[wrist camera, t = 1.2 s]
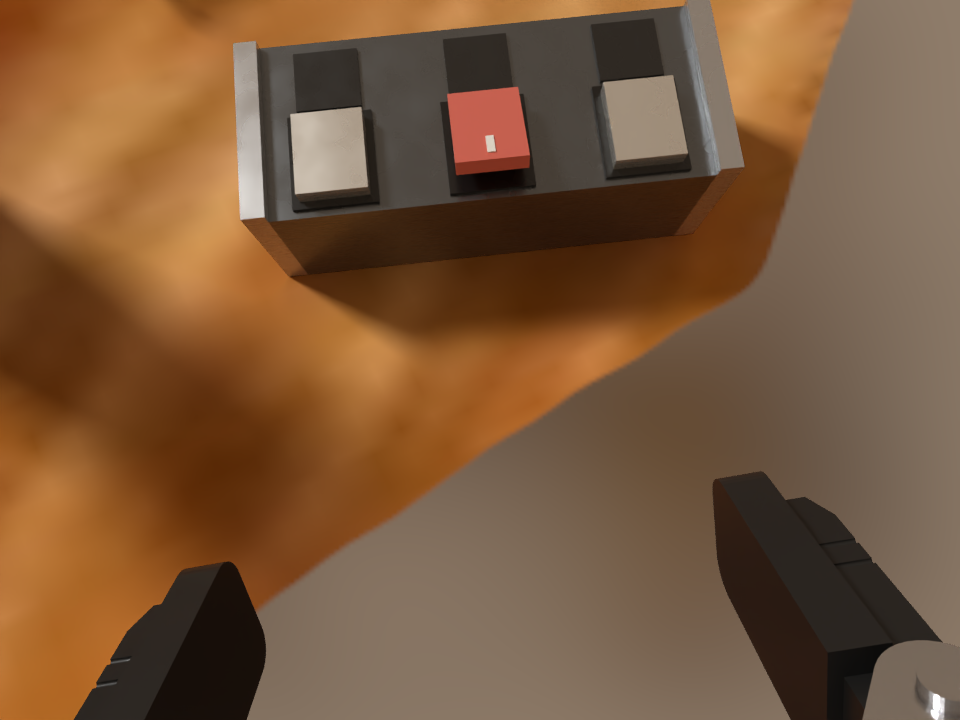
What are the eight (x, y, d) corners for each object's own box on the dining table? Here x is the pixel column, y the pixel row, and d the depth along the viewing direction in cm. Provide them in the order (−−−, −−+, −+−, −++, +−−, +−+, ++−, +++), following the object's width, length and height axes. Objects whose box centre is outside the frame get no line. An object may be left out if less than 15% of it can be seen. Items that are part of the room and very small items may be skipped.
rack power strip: (692, 233, 43) (748, 162, 34) (288, 276, 42) (236, 215, 33) (666, 91, 45) (712, -12, 36) (280, 131, 44) (229, 37, 35)
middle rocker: (529, 167, 33) (529, 154, 32) (456, 175, 33) (455, 161, 32) (517, 100, 35) (518, 85, 34) (448, 107, 35) (447, 93, 34)
